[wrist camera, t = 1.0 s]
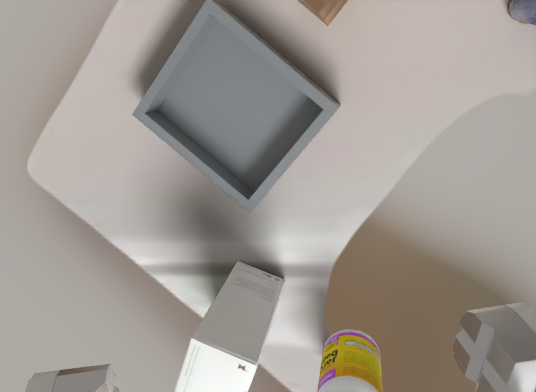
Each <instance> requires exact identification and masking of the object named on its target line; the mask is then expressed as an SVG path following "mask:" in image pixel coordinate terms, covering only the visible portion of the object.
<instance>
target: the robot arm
mask: <svg viewBox="0 0 536 392" xmlns="http://www.w3.org/2000/svg"><path fill="white" fill-rule="evenodd" d="M459 323H460V325H461V326H462V328H463V329H462V330H461V331H460V332H459V333H458V334H457V335H456V336H455V340H454V344H453V350H454V357H455V360H456V362H457V364H458V367H459V368H460V370H461V371H462V373H463V374H464V376H465V377H467V378H469V379H470V380H472V381H474V382H475V383H476V392H536V310H534V309H533V308H532V307H531V306H530V305H528V304H526V303H524V302H522V303H515V304H509V305H504V306H495V307H488V308H482V309H475V310H469V311H466V312H465V313H464V314H463V315H462V316H461V319H460V322H459ZM114 380H115V372H114V369H113V366H112V364H105V365H97V366H89V367H81V368H72V369H64V370H59V371H51V372H43V373H35V374H34V375H33V376H32V378H31V379H30V380H29V383H28V385H27V388H26V391H25V392H119V389H118V388H117V387H115V386H114Z"/></svg>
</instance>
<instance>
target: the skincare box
mask: <svg viewBox="0 0 536 392" xmlns="http://www.w3.org/2000/svg"><path fill="white" fill-rule="evenodd" d="M284 282H285V280H284V279H282V278H280V277H277V276H275V275H272V274H270V273H267V272H265V271H262V270H260V269H257V268H255V267H252V266H250V265H247V264H245V263H242V262H240V261H237V262H236V264H235V266H234V267H233V269H232V271H231V272H230V274H229V276H228V278H227V279H226V281H225V283H224V284H223V286H222V288H221V289H220V291H219V293H218V294H217V296H216V298H215V299H214V301H213V303H212V304H211V306H210V308H209V310H208V311H207V313H206V314H205V316H204V318H203V320H202V321H201V323H200V325H199V326H198V328H197V330H196V331H195V333H194V335H193V336H192V338H191V340H190V343H189V346H188V349H187V353H186V356H185V359H184V362H183V365H182V368H181V371H180V374H179V377H178V380H177V383H176V387H175V390H174V392H248V389H249V387H250V385H251V382H252V379H253V377H254V374H255V372H256V369H257V366H258V363H259V360H260V357H261V354H262V351H263V348H264V345H265V342H266V339H267V336H268V333H269V330H270V327H271V324H272V320H273V317H274V314H275V311H276V308H277V304H278V301H279V298H280V295H281V292H282V289H283V286H284Z"/></svg>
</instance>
